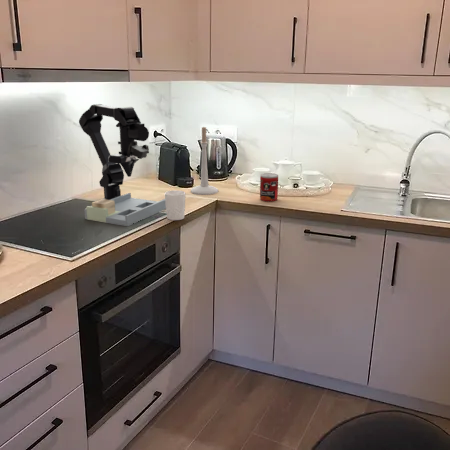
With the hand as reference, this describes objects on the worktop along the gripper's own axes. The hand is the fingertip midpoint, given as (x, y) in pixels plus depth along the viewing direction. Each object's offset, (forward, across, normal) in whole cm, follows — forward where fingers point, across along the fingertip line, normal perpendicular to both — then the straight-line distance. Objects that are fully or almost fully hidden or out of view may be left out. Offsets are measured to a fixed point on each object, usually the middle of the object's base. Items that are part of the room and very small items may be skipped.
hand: (129, 176), depth 211 cm
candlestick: (+12, +34, -17) cm, 40 cm away
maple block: (+10, -20, -2) cm, 23 cm away
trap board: (+12, -11, -7) cm, 18 cm away
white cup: (+12, -8, -27) cm, 31 cm away
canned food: (+12, +34, -49) cm, 61 cm away
